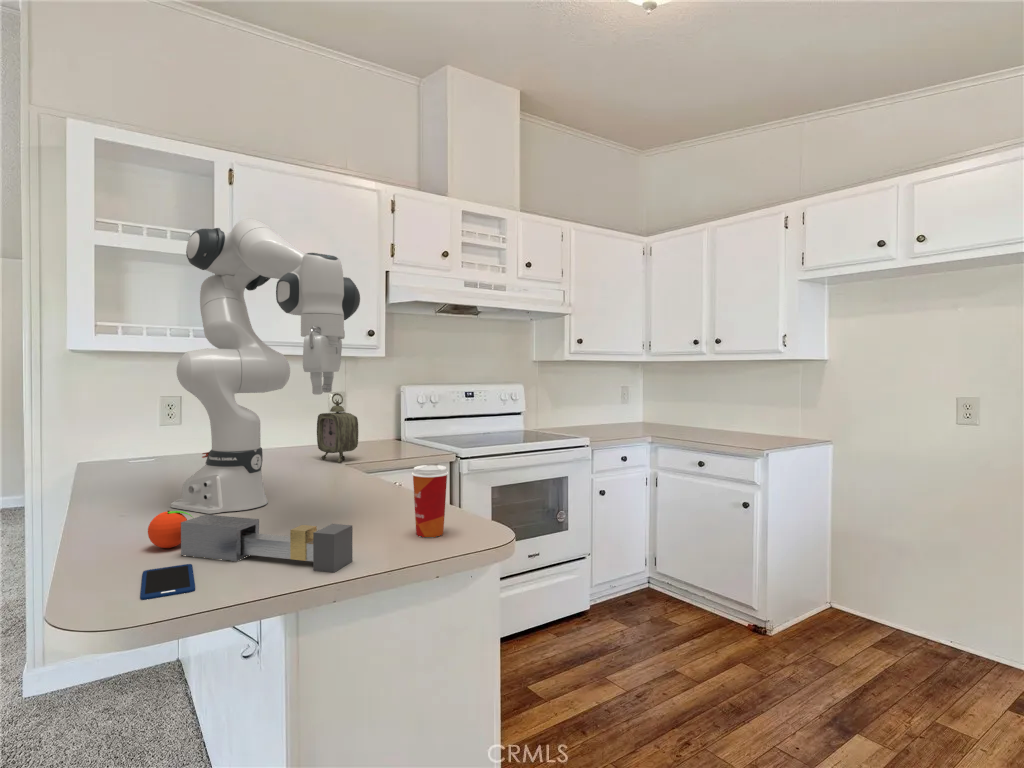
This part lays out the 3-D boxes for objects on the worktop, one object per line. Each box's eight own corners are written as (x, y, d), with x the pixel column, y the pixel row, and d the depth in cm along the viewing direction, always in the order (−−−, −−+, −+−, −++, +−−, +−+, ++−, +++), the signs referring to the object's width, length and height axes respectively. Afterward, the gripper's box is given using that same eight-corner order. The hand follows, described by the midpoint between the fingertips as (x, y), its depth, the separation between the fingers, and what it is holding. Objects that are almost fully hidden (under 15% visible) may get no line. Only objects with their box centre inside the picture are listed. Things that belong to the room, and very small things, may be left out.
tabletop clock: (316, 460, 220) (316, 392, 219) (338, 457, 227) (338, 392, 226) (338, 464, 211) (338, 394, 210) (360, 461, 217) (360, 393, 217)
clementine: (196, 539, 119) (195, 504, 118) (195, 549, 112) (195, 512, 112) (149, 544, 115) (149, 508, 115) (146, 555, 109) (145, 516, 109)
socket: (313, 570, 101) (313, 532, 101) (332, 559, 107) (332, 523, 107) (334, 572, 100) (334, 534, 100) (352, 561, 106) (352, 525, 106)
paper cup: (415, 528, 128) (415, 464, 127) (450, 529, 127) (450, 464, 127) (407, 539, 120) (407, 470, 119) (445, 539, 120) (445, 471, 119)
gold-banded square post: (232, 553, 107) (232, 524, 107) (245, 548, 110) (245, 520, 110) (325, 563, 102) (325, 532, 102) (336, 557, 105) (336, 527, 105)
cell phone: (139, 603, 88) (139, 598, 88) (142, 574, 100) (142, 570, 100) (195, 594, 91) (195, 589, 91) (192, 567, 103) (192, 562, 103)
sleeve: (181, 555, 108) (180, 522, 108) (205, 546, 114) (205, 514, 114) (236, 561, 105) (236, 527, 105) (259, 551, 111) (259, 519, 111)
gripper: (327, 325, 117) (327, 395, 117) (346, 331, 137) (346, 391, 137) (294, 325, 116) (294, 395, 116) (318, 331, 136) (318, 391, 137)
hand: (322, 393), depth 127 cm, fingers open, 8 cm apart
